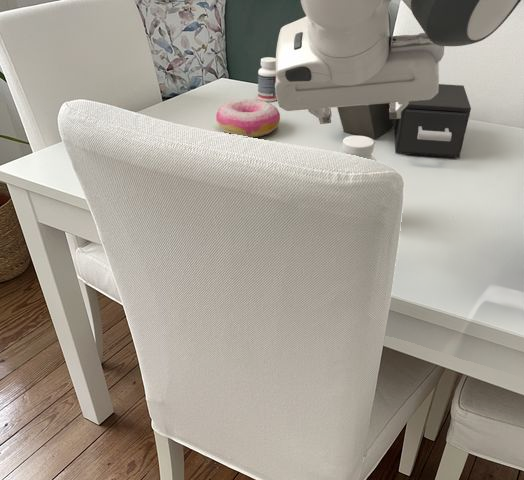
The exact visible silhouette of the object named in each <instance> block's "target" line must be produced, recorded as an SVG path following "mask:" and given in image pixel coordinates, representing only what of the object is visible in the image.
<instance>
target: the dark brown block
mask: <svg viewBox="0 0 524 480" xmlns="http://www.w3.org/2000/svg"><path fill="white" fill-rule="evenodd" d="M389 108H390V103H382V104H370V105H357V106H344V107H336V109H337V112H338V116H339V120H340V124H341V128H342V131H343V133H348V134H352V135H354V136H365V137H369V138H371V139H372V140H377V139H379V138H380V137H381V136H383V135H384V134H386V133H387V132H388V131H390V130H392V129H393V128H395V123H396V119H390V116H389Z"/></svg>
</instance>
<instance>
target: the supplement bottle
mask: <svg viewBox="0 0 524 480" xmlns="http://www.w3.org/2000/svg"><path fill="white" fill-rule="evenodd" d="M341 145H342V146H341V149H342V151H343V152H342V153H346V154H351V155H356V156H359V157H363V158H367V159H371V160H375V161H377V159H376V157H375V156H374V155H372V154H373V152H374V148H375V140H374V139H372V138H369V137H365V136H359V135H349V136H346V137H344V138H343V140H342V144H341ZM377 162H378V161H377Z"/></svg>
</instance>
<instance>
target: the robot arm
mask: <svg viewBox="0 0 524 480" xmlns="http://www.w3.org/2000/svg"><path fill="white" fill-rule="evenodd" d="M521 1H522V0H402V2H403V3H404V4H405V6H407V7H408V9H409V10H410V11H411V13H412V15H413V17H414V19H415V20H416V22H417V23H418V25H419V26H420V28H421V29H422V30H423V32H420V33H418V34H401V35H400V34H399V35H390V19H389V17H390V16H389V15H390V14H389V6H390V4H391V2H392V0H300V4H301V7H302V10H303V12H304V14H305V16H304V17H302V18H299V19H297V20H295V21H293V22H290V23H286V24H285V25H284V26H282V27H281V28H280V31H279V34H278V38H277V43H276V50H275V58H276V83H275V91H276V97H277V100H276V101H277V104H278V107H279V108H280V109H283V110H284V111H286V112H294V111H304V110H307V112H308V113H310V114H311V115H313V116H314V117H315V118H317V119H318V121H319V124H320V125H326V124H327V125H328V124H331V123H332V110H331V108H337V107H344V106H357V105H370V104H382V103H390V108H389V116H390V119H400V118H401V111H402V110H403V109H404V108H405V107H406V106H407V105H408V104H409V101H420V100H430V99H432V98H433V97H434V96H436V95H437V94H438V88H439V84H440V62H441V61H442V59H443V57H444V55H445V47H463V46H469V45H472V44H477V43H479V42H482V41H484V40H485V39H487V38H488V37H490V36H491V35H492V34H493V33H495V32H496V31H497V30H498V29H499V28H500V27H501V26H502V25H503V24H504V22H505V21H506V20H507V19H508V18H509V17H510V15H511V14H512V13H513V12H514V11H515V9H516V8H517V6H518V5H519V4H520V3H521Z"/></svg>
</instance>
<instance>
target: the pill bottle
mask: <svg viewBox="0 0 524 480" xmlns="http://www.w3.org/2000/svg"><path fill="white" fill-rule="evenodd" d="M275 83H276V57H271V56H267V57H262V58H261V59H260V68H259V69H258V72H257V100H261V101H265V102H275V101H277V97H276V91H275Z"/></svg>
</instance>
